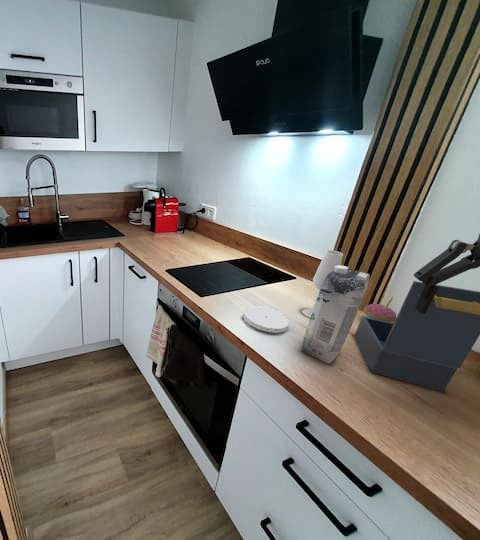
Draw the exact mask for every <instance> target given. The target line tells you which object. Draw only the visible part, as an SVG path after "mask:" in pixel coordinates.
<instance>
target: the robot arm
mask: <svg viewBox="0 0 480 540" xmlns="http://www.w3.org/2000/svg"><path fill="white" fill-rule="evenodd" d="M467 251H469V252H470V254H468V255H466V256H464V257H462V258H461V259H460V260H458V261H456V262H454V263H452V264H451V262H453V261H455V260H456V259H457V258H459V257H460V256H461V255H462V254H465V253H467ZM449 264H450V265H449ZM478 268H480V233H479V234H478V237H477V240H475V241H474V242H473V243H470V242H469V243H468V242H464V241H462V240H459V239H454V240H452V241H451V243H450V244H449V245H448V247H447V249H445V250H444V251H442V252H441V253H440V254H438V255H437V256H435V257H434V258H433V259H432V260H430V261H428V263H426V264H425V265H423V266H422V267H421V268H419V269H418V270H417V271H415V272H414V273H413V277H415V278H416V279H417V280H418V282H422V285H421V287H420V289H419V291H418V293H417V294H418V296H419V297H420V299H419V301H418V303H417V305H416V307H415V308H416V309H417V310H418V311H419V312H420V313H422V314H425V313H426V311H427V309H428V307H429V305H430V304H431V302H432V300H433V298H434V296H435V294H436V292H437V291H438V289H439V287H437V286H436V285H439V284H440V283H443V282H445V281H447V280H450V279H452V278H454V277H456V276H458V275H461V274H463V273H465V272H467V271H469V270H474V269H478Z"/></svg>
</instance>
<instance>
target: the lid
mask: <svg viewBox="0 0 480 540" xmlns="http://www.w3.org/2000/svg"><path fill="white" fill-rule="evenodd" d="M421 285H422V281H416V280H413V282H412V284H411V286H410V287H409V290H408V292H407V295H406V296H405V299H404V301H403V303H402V305H401V307H400V309H399V312H398V314H397V315H396V319H395V321H393V323H394V324H393V326H392V329H391V331H390V333H389V335H388V337H387V339H386V342H385V344H384V346H383V348H382V349H383V350H384V351H388V352H393V353H397V354H401V355H405V356H409V357H413V358H417V359H421V360H425V361H429V362H434V363H438V364H442V365H446V366H450V367H454V368H457V370H458V369H460V368H461V367H462V365H464V362H465V360H466V359H467V357H468V356H469V354H470V352H471V350H472V349H473V347H474V346H475V344H476V342H477V341H478V339H479V337H480V291H479V290H478V291H477V290H473V289H472V290H471V289H466V288H460V287H453V286H447V285H441V284H436V286H437V287H439V289H438V291H437V292H436V294H435V296H434V298H433V300H432V302H431V304H430V305H429V307H428V309H427V311H426V313H425V314H422V313H420V312H419V311H418V310H417V309H416V308H415V307H416V305H417V303H418V301H419V299H420V297H419V296H418V294H417V293H418V291H419V289H420V287H421Z"/></svg>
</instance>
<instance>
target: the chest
mask: <svg viewBox="0 0 480 540" xmlns="http://www.w3.org/2000/svg"><path fill="white" fill-rule="evenodd" d="M393 324H394V322H386V321H382V320H377V319H372V318H368V317H367V316H362V317H361V319H360V321H359V323H358V325H357V328H356V330H355V333H354V338H355V340H356V343H357V344H358V347H359V349H360V351H361V354H362V356H363V357H364V360H365V362H366V364H367V366H368V368H369V371H370V373H373V374H377V375H381V376H384V377H387V378H388V377H389V378H391V379H395V380H399V381H401V382H402V381H403V382H406V383H408V384H409V383H410V384H413V385H417V386H421V387H424V388H428V389H432V390H436V391H439V392H444V391H445V389H446V387H447V386H448V385H449V383H450V382H451V380H452V379H453V377H454V375H455V374H456V372H457V371H458V368H454V367H450V366H446V365H442V364H438V363H434V362H429V361H425V360H421V359H417V358H413V357H409V356H405V355H401V354H397V353H393V352H388V351H384V350H383V349H382V348H383V346H384V344H385V342H386V339H387V337H388V335H389V333H390V331H391V329H392V326H393Z"/></svg>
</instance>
